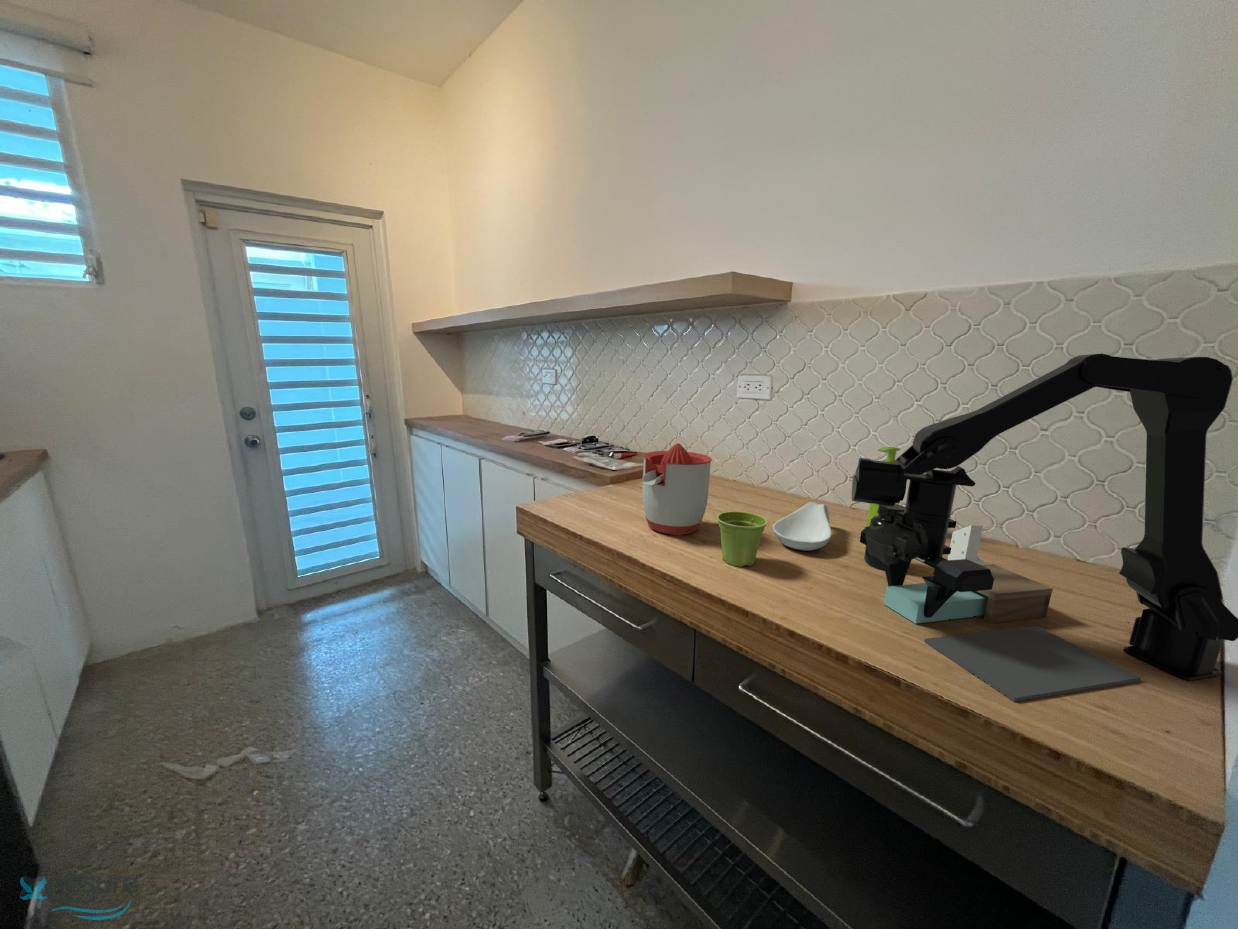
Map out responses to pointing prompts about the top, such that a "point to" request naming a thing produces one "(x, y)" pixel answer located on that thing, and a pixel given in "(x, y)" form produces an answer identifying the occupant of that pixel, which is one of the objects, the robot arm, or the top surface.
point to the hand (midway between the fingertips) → (910, 606)
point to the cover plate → (957, 606)
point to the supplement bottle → (883, 519)
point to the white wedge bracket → (966, 544)
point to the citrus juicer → (675, 489)
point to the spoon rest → (805, 528)
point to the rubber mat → (1030, 662)
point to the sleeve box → (1015, 597)
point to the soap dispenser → (890, 458)
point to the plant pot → (740, 536)
